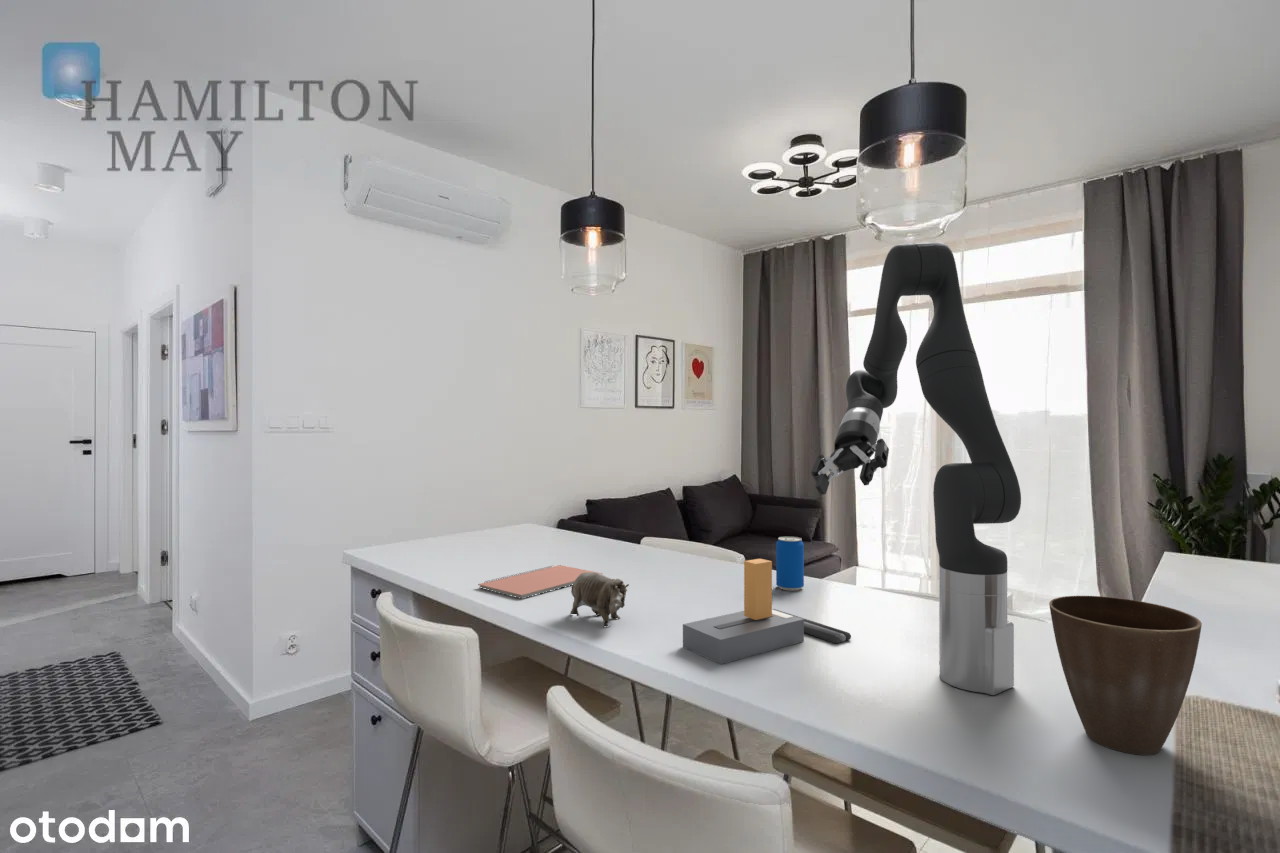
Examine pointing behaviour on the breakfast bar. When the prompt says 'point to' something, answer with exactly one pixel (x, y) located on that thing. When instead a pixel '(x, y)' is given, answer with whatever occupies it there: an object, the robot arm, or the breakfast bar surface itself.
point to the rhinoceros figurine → (599, 594)
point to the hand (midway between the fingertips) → (842, 486)
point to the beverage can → (790, 563)
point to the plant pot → (1125, 667)
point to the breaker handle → (758, 589)
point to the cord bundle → (824, 631)
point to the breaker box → (741, 635)
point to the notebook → (535, 581)
